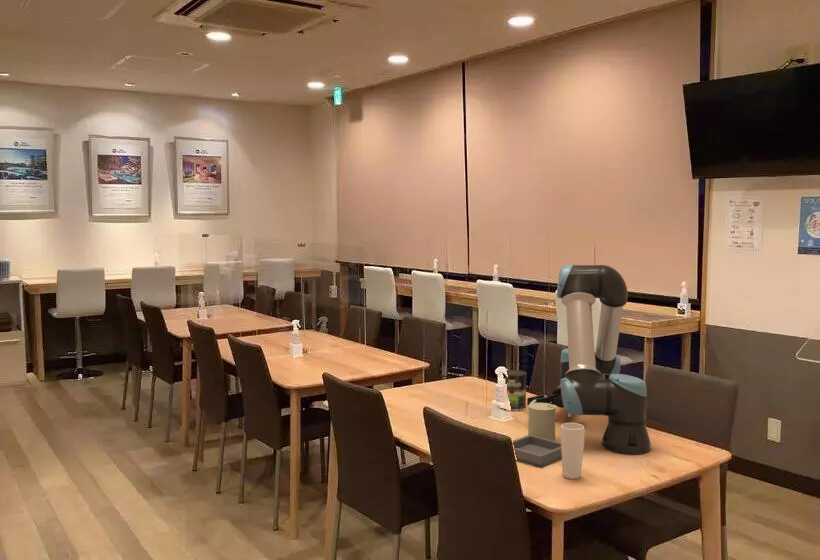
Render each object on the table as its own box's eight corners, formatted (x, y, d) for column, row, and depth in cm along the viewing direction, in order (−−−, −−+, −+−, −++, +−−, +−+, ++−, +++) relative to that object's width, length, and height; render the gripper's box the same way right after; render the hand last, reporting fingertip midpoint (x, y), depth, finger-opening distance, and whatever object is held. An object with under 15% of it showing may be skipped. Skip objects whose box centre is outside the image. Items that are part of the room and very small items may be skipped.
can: (555, 444, 242) (556, 409, 241) (527, 443, 244) (527, 407, 243) (555, 436, 251) (556, 401, 250) (528, 434, 253) (528, 400, 252)
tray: (569, 455, 232) (569, 445, 231) (540, 467, 221) (540, 456, 221) (529, 444, 242) (529, 434, 242) (500, 455, 232) (500, 445, 231)
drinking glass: (580, 472, 217) (581, 422, 216) (586, 480, 211) (587, 429, 209) (557, 472, 217) (558, 422, 216) (562, 480, 210) (563, 429, 209)
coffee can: (525, 412, 281) (525, 375, 280) (498, 410, 283) (498, 374, 282) (527, 405, 291) (527, 370, 290) (501, 403, 293) (501, 368, 292)
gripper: (597, 409, 270) (585, 425, 251) (531, 401, 281) (514, 416, 262) (597, 389, 269) (585, 404, 250) (531, 382, 280) (514, 395, 261)
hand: (549, 410), depth 256 cm, fingers open, 13 cm apart
